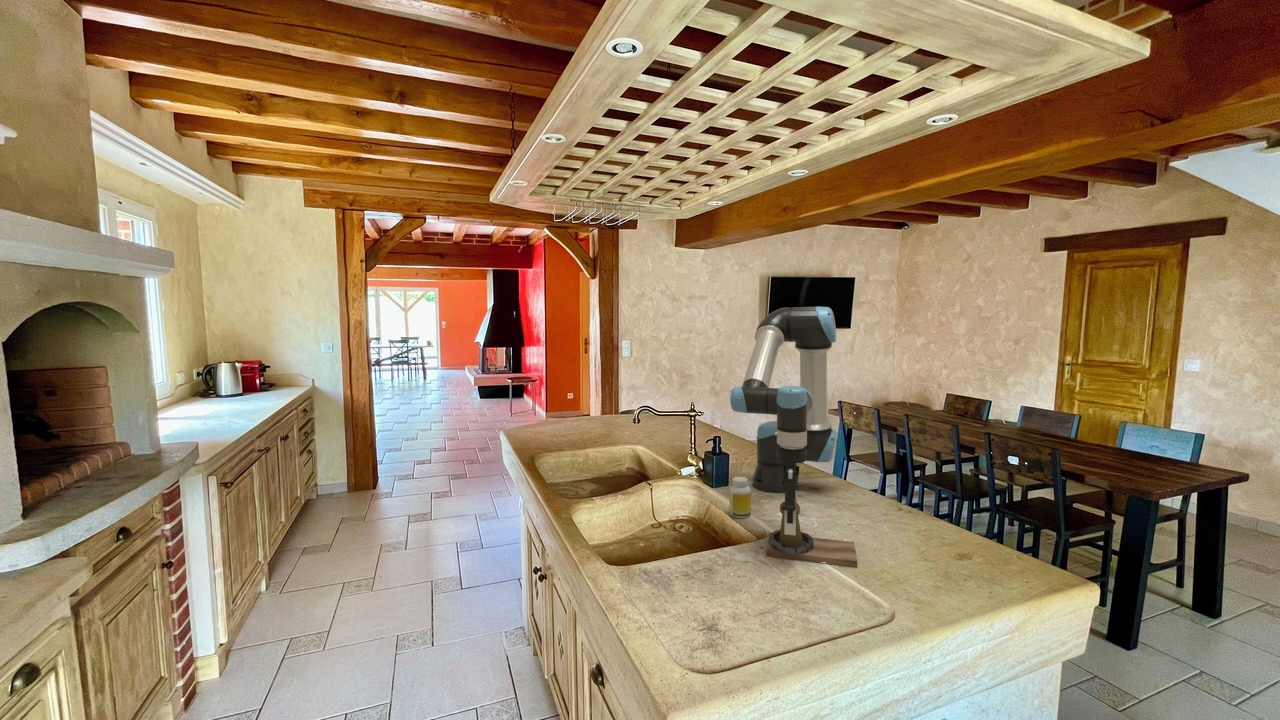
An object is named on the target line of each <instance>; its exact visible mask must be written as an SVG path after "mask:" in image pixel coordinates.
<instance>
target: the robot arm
mask: <svg viewBox="0 0 1280 720" xmlns="http://www.w3.org/2000/svg"><path fill="white" fill-rule="evenodd" d="M754 340H755V344H754V347H753V350H752V353H751V357H750V360H749V362H748V367H747V369H746V372H745V376H744V379H743V382H742V385H739V386H734V387H732V389H731V391H730V407H731V409H732V411H733V412H736V413H743V414H757V415H771V416H772V415H773V416H775V415H776V420H775V421H773V420H772V421H767V422H764V423H761V424H759V426H758V427H757V431H756V459H757V460H756V466H755V469H754V473H753V476H752V478H751V479H752V481H751V484H752V486H753V487H754V488H755V489H757V490H760V491H762V490H763V492H768V493H784V502H785V507H782V510H785V526H784V534H787V535H796V508H795V502H796V503H798V491H801V490H800V489H801V488H800V487H801V486H798V485H799V476H800V465H798V464H803V463H805V462H813V463H817V464H818V463H829V462H831V461H832V457H833V453H834V447H835V441H836V434H837V431H836V429H834V428H832V423H831V422H830V421H829V420H828V417H827V415H828V414H827V413H828V407H827V405H828V403H827V402H828V401H827V399H828V398H827V397H828V395H827V394H828V393H827V392H828V388H827V387H828V384H827V383H828V378H827V377H828V376H827V375H828V373H827V372H828V369H827V368H828V366H827V365H828V360H827V359H828V357H827V356H828V354H827V353H828V352H829V351H830V350H831V349H832V347H833V346H832V343H837V342H836V341H837V327H836V320H835V315H834V312H833V310H832V309H831V307H828V306H798V307H797V306H796V307H794V306H793V307H781V308H778V309H776V310H774V311H772V312H771V313H769V314H768V315H766V316H765V317H764V318H763V320H762V321H760V323H759V324H758V326H757V327H756V330H755V334H754ZM785 342H786V343H788V342H789V343H795V344H794V345H795V346H794V347H795V349H796V350H797V351H798V352H799V370H800V371H799V377H800V379H799V383H800V384H799V385H784V386H780V387H770V385H771V384H770V383H771V380H772V375H773V372H774V369H775V364H776V360H777V356H778V352H779V348H780V347H781V346H783V344H784V343H785ZM787 505H792V506H787Z"/></svg>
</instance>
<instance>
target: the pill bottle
mask: <svg viewBox="0 0 1280 720" xmlns="http://www.w3.org/2000/svg"><path fill="white" fill-rule="evenodd" d="M748 482H749V480H748V477H745V476H734V477H733V478H732V485H731V486H730V488H729V513H730V515H731V516H732V517H734V518H737V519H746V518H747V519H748V518H749V517H750V516H751V515H752V491H751V490H752V489H751V488H750V486H749V485H748V484H749V483H748Z"/></svg>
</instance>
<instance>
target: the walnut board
mask: <svg viewBox="0 0 1280 720" xmlns="http://www.w3.org/2000/svg"><path fill="white" fill-rule="evenodd" d="M770 533H771V532H769V534H770ZM769 534H768V535H769ZM812 538H813V539H814V547H813V550H811V551H810V552H808V553H803V554H789V553H783V552H780V551H778V550H775V549H773V548H772V547H771V546H770V545H769V537H768V539H767V545H766V551H765V552H766V555H765V556H766V557H771V558H776V559H777V558H778V559H787V560H794V561H800V562H801V561H802V562H809V563H810V562H811V563H818V564H821V563H820V562H826V563H831V564H830V565H832V564H836V565H835V566H840V565H843V566H842V567H848V568H858V558H857V552H856V546H855V542H854V541H846V540H838V539H829V538H828V539H827V538H818V537H812Z"/></svg>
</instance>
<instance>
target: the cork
mask: <svg viewBox="0 0 1280 720" xmlns="http://www.w3.org/2000/svg"><path fill="white" fill-rule="evenodd" d="M787 506H792V505H787ZM782 507H785V501H782V502H781V503H780V504H779V512H780V514H781V522H780V523H781V525H780V530H781V531H780V541H779V543H780V544H783V545H787V546H802V544H803V542H802V536H801V532H802V530H801V526H800V519H799V514H800V513H801V507H800V505H799V503H798V502H797V503H796V502H795V508H796V535H787V534H784V526H785V510H782Z"/></svg>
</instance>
